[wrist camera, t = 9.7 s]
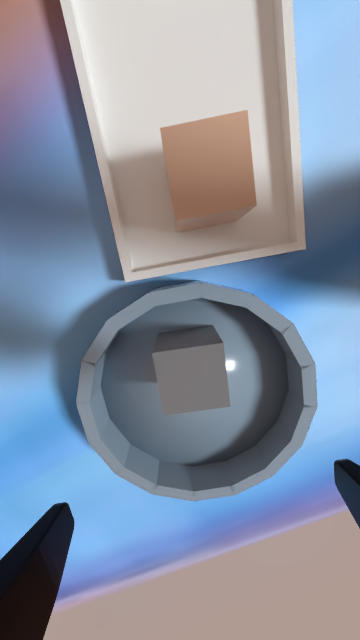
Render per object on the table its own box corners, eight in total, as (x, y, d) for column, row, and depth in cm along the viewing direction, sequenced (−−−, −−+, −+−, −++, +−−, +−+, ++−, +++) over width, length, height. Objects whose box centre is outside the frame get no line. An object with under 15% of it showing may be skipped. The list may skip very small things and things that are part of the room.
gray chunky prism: (212, 325, 19) (223, 342, 14) (219, 375, 20) (230, 406, 15) (158, 332, 19) (151, 353, 14) (167, 382, 20) (163, 415, 15)
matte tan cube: (228, 153, 16) (247, 109, 12) (236, 221, 17) (256, 205, 13) (165, 166, 16) (159, 127, 12) (176, 232, 17) (175, 220, 13)
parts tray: (274, -83, 14) (285, -125, 12) (295, 250, 18) (306, 248, 16) (58, -32, 14) (44, -67, 13) (129, 281, 18) (125, 282, 17)
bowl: (288, 263, 18) (310, 262, 15) (302, 453, 22) (321, 482, 19) (67, 304, 19) (46, 310, 16) (119, 481, 23) (110, 513, 20)
